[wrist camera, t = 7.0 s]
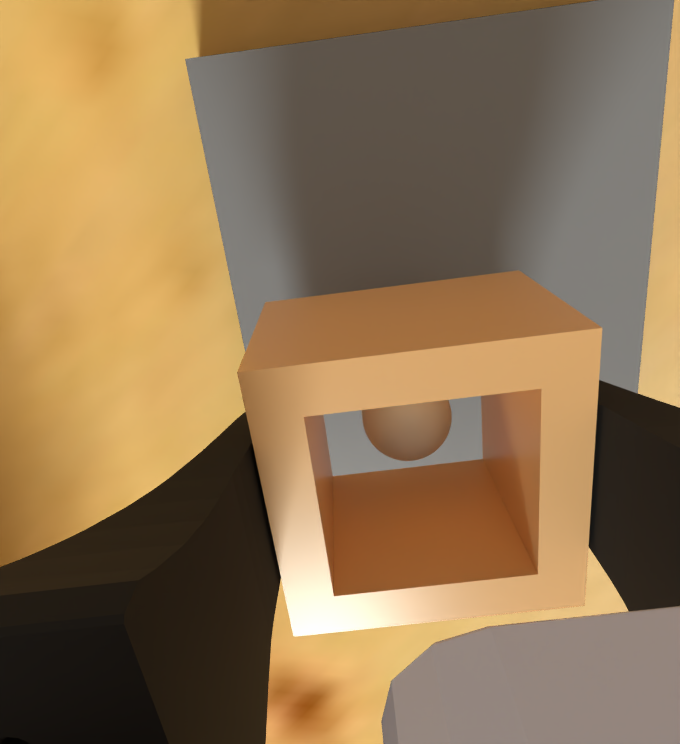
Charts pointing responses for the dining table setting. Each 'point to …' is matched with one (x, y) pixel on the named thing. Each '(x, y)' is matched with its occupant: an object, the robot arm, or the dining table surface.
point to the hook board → (444, 180)
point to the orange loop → (431, 482)
